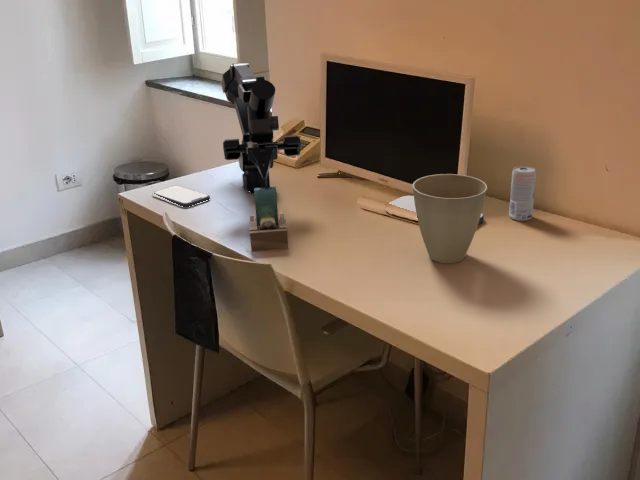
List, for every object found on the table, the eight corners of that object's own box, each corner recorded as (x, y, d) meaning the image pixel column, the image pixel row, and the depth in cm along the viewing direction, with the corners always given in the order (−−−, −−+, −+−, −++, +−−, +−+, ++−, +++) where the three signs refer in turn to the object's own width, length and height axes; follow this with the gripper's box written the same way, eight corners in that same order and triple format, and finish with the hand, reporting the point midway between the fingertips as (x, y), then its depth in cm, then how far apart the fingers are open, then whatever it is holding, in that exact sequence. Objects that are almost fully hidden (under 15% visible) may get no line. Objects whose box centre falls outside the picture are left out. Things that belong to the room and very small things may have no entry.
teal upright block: (256, 224, 165) (253, 188, 161) (278, 223, 165) (275, 186, 161) (257, 237, 157) (254, 199, 154) (279, 235, 158) (277, 198, 154)
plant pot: (398, 249, 149) (399, 180, 142) (458, 238, 153) (461, 170, 147) (432, 277, 136) (435, 202, 129) (496, 264, 140) (502, 190, 134)
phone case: (151, 198, 187) (185, 210, 177) (150, 192, 187) (184, 204, 176) (177, 189, 193) (212, 201, 183) (177, 184, 193) (211, 195, 182)
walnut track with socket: (250, 223, 166) (249, 206, 164) (284, 221, 166) (283, 204, 165) (251, 251, 150) (249, 233, 149) (288, 248, 151) (287, 230, 149)
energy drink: (529, 213, 166) (534, 165, 161) (533, 221, 161) (538, 172, 156) (507, 213, 166) (510, 165, 161) (510, 221, 161) (514, 172, 157)
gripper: (219, 106, 162) (223, 164, 156) (297, 102, 164) (304, 159, 158) (223, 131, 172) (226, 186, 166) (297, 126, 174) (302, 181, 168)
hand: (264, 178), depth 164 cm, fingers closed
